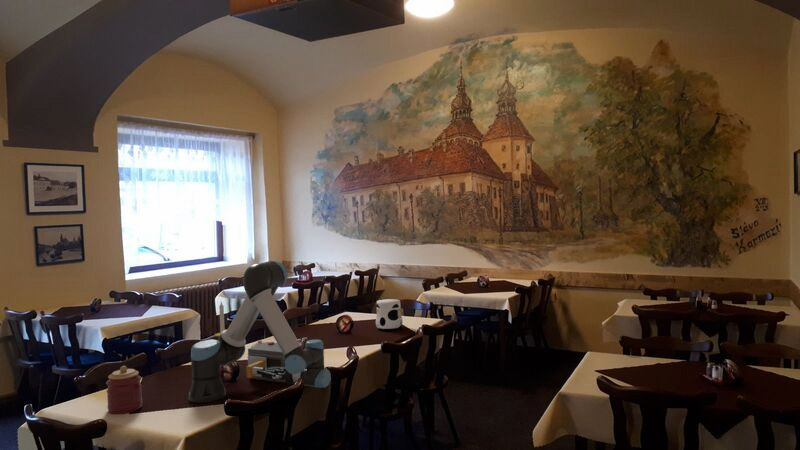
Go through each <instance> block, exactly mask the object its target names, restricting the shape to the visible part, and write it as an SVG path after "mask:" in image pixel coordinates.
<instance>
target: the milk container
mask: <svg viewBox="0 0 800 450" xmlns="http://www.w3.org/2000/svg"><path fill="white" fill-rule="evenodd" d="M401 305H402V304H401V300H400V299H396V298H389V299H388V298H387V299H379V300H376V317H375V326H376V328H377V329H379V330H384V331H392V330H398V329H401V328H402V326H403V317H402V312H401V311H402V310H401V309H402V307H401Z"/></svg>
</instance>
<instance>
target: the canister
mask: <svg viewBox="0 0 800 450" xmlns="http://www.w3.org/2000/svg"><path fill="white" fill-rule="evenodd" d="M107 378H108V380H107V381H106V382H105V384H106V385H107V389H106V393H107V397H106V398H107V406H106V408H107V411H108V413H109V414H112V415H113V414H114V415H116V414H117V415H120V414H121V415H122V414H127V413H128V414H129V413H132V412H135V411H137V410H139V409H141V408H142V407H143V403H144V402H143V393H142V392H143V391H142V387H143V385H142V384H141V380H142V376H140V375H139V370H136V369H134V368H128V367H127V366H126V365H122V366H120V368H119V369H117V370H114V371H112V373H110V374H109V375H108V376H107Z"/></svg>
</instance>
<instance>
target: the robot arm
mask: <svg viewBox="0 0 800 450" xmlns="http://www.w3.org/2000/svg"><path fill="white" fill-rule="evenodd" d="M287 280H288V271H287V268H286V266H285V265H284V264H283V263H282V262H280V261H278V260H269V261H265V262H260V263H254V264H251V265H250V266H248V267H247V268H246V269H245V271H244V273H243V276H242V284H243V288H244V291H245V294H246V295H245V298H244V300H243V302H242V303H241V305H240V306H239V309H238V310H237V311H236V313H235V315H234V317H233V318H232V321H231V323H230V324H229V326H228V328H227V329H225V330H224V331H222V333H221V335H220V336H218V337H217V339H206V340H200V341H199V342H196V343H194V344H193V345H192V346H191V348H190V363H191V385H190V389H189V392H188V401H189V402H191V403H198V404H199V403H202V404H203V403H209V402H210V403H211V402H216V401H218V400H219V401H220V400H221V399H223V398H224V397H225V396H226V395H227V393H226V392H227V390H226V387H225V385H224V382H223V380H222V375H221V368H223V367H225V366H229V365H231V364H230V363H232V364H233V363H235V362H238V360H240V359H241V358H243V356H244V354H245V352H246V343H247V341H246V337H247V335H248V333H249V332H250V330H251V328H252V326H253V324H254V323H255V321H256V320H257V318H258V316H259V314H260V315H261V317H262V319H263V321H264V322H265V324H266V325H267V328H268V329H269V332H270V333H271V334H272V336H273V338H274V340H275V341H276V342H275V343H278V345H279V347H280V349H281V350H282V352H283V354H284V356H285V358H286V360H285V367H270V368H260V367H252V374H259V375H261V377H264V378H268V379H272V380H273V381H272V382H276V381H275V380H276V378H278V379H281V380H284V379H285V381H286V383H287V384H289V385H296V384H295V383H296V382H297V380H298V379H299V378H301V379H303V381H304V386H308V387H314V388H327V387H328V386H329V384H330V383H331V380H332V376H331V372H330V370H329V369H327V368H325V351H324V350H325V349H324V341H322V340H321V339H309V340H307V341H305V344H304V345H305V346H304V349H303V347H302V345H301V344H300V342H299V340H298V339H297V337H296V335H295V333H294V332H293V329H292V328H291V326H290V325H289V322H288V320H287V319H286V317H285V315H284V314H283V312H282V310H281V309H280V307H279V305H278V303H277V301H276V300H275V298H274V295H275V294H276V292H277V290H278V288H280V287H282V286H284V285H285V284H286V282H287ZM228 364H229V365H228Z"/></svg>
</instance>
